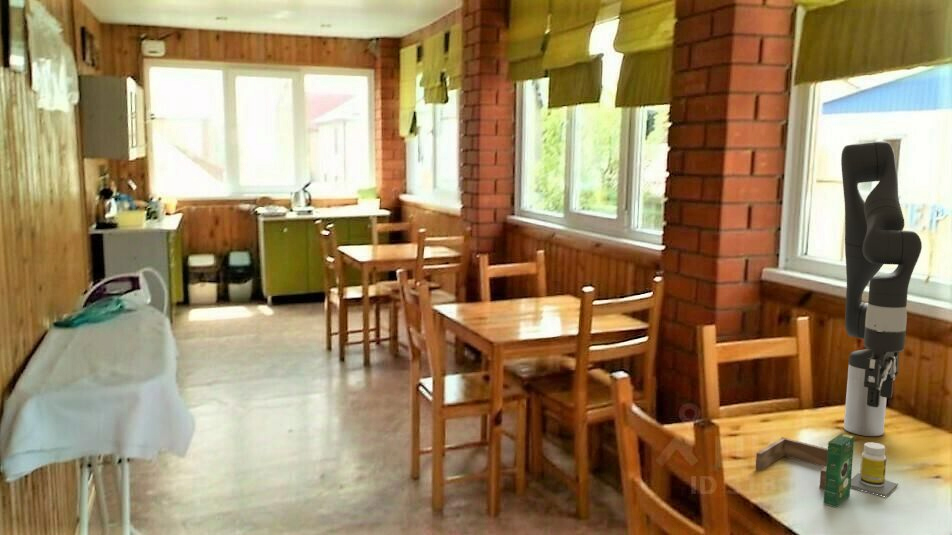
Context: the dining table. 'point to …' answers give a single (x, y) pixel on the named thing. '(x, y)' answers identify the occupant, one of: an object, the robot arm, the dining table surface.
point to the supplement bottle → (873, 465)
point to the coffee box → (838, 469)
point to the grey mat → (882, 490)
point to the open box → (793, 455)
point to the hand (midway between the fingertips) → (879, 401)
